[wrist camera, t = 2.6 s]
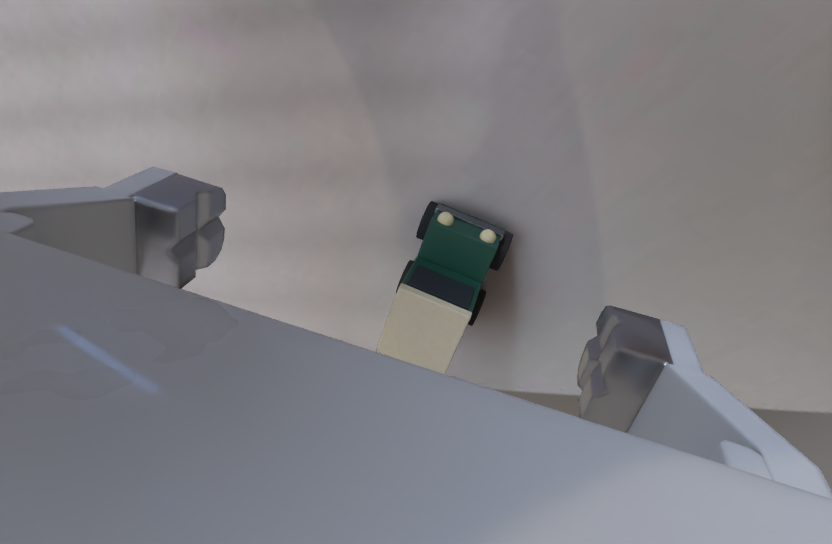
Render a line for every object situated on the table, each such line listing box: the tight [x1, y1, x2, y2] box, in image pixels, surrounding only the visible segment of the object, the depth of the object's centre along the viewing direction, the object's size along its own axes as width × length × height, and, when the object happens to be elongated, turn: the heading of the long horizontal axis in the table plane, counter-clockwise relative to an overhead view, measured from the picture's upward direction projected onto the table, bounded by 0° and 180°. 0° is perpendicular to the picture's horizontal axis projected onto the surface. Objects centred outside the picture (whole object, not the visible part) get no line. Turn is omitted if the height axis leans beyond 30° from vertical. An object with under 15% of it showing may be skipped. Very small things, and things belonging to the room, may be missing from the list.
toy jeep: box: [376, 201, 513, 374], centre depth 36 cm, size 8×6×8 cm
